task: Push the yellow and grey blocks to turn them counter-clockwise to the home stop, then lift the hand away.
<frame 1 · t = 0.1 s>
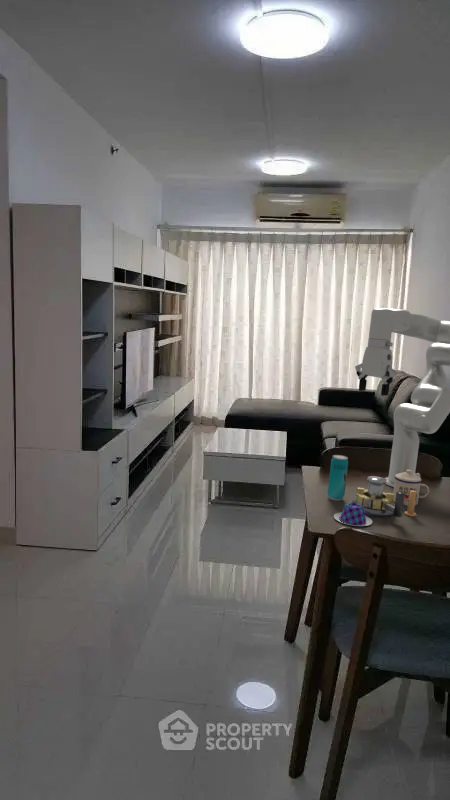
hand: (373, 393, 215), 37 cm above the table, tool pointing down, fingers open, 9 cm apart
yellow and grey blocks: (382, 495, 199), point 6 cm above the table, hinge at 0.0°
pudding: (352, 521, 192), on the table
home stop: (410, 514, 202), on the table
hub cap: (373, 510, 203), on the table
teacup with lid: (409, 503, 214), on the table
beverage can: (335, 499, 212), on the table
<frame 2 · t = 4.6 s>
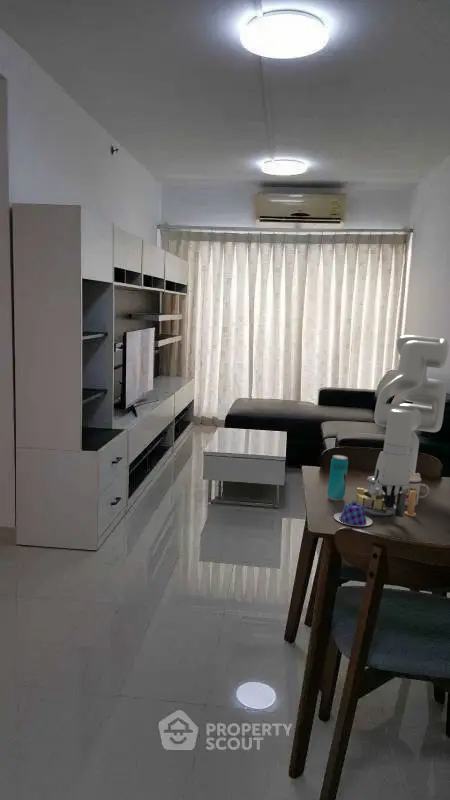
hand: (388, 506, 191), 6 cm above the table, tool pointing down, fingers closed
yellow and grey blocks: (382, 495, 199), point 6 cm above the table, hinge at 2.8°, touching gripper
everything else where it was.
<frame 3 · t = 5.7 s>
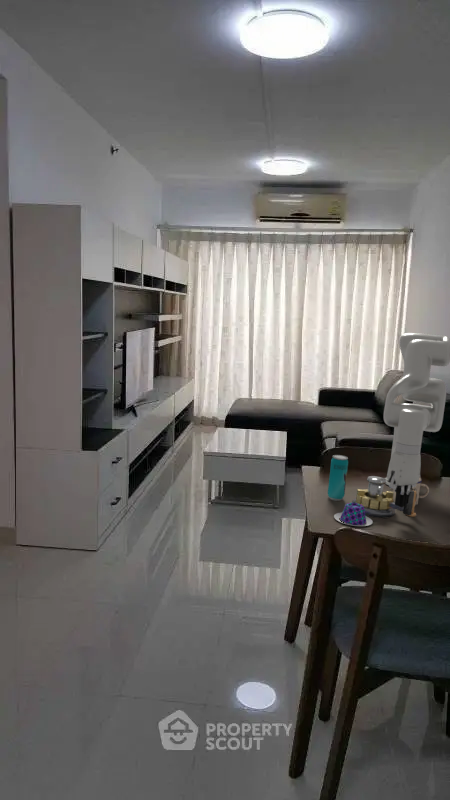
hand: (400, 505, 192), 6 cm above the table, tool pointing down, fingers closed
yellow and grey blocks: (385, 495, 200), point 6 cm above the table, hinge at 22.3°, touching gripper
everything else where it was.
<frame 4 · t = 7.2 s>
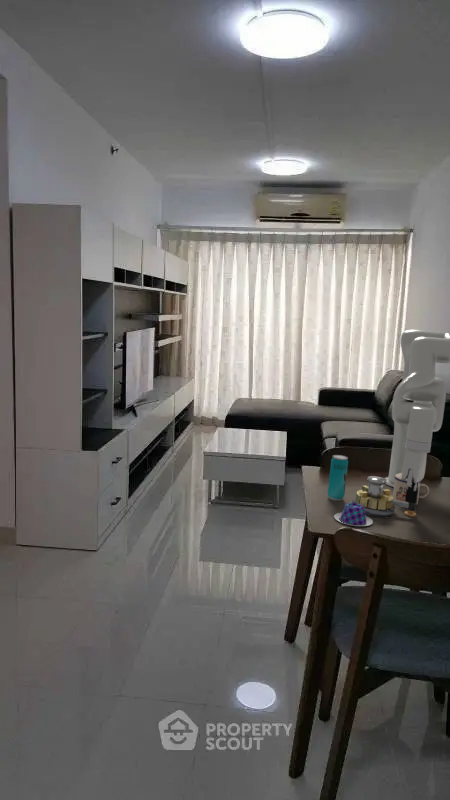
hand: (410, 501, 195), 6 cm above the table, tool pointing down, fingers closed
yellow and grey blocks: (386, 494, 201), point 6 cm above the table, hinge at 47.0°, touching gripper, home stop
everything else where it was.
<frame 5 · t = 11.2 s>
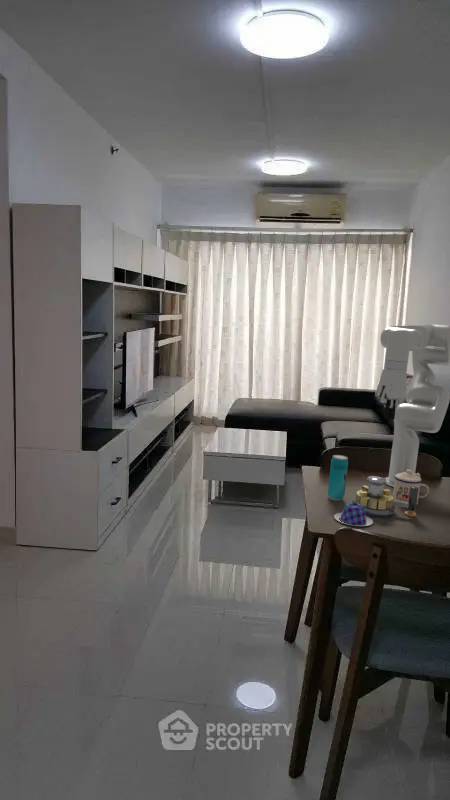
hand: (389, 418, 210), 29 cm above the table, tool pointing down, fingers closed
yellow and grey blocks: (386, 494, 201), point 6 cm above the table, hinge at 47.0°, touching home stop
everything else where it was.
at the end: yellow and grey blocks at +47° (first picture: +0°); the gripper is holding nothing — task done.
